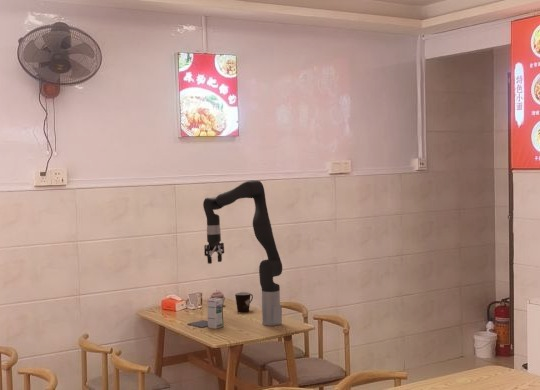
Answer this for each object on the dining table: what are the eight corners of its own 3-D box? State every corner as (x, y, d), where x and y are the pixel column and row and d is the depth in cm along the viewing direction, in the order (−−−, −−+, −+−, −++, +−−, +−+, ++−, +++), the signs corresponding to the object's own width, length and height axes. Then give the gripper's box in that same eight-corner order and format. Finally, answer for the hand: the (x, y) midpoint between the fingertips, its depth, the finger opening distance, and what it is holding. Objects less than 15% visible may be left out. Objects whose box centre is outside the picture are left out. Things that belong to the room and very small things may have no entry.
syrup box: (216, 329, 350) (215, 300, 349) (207, 327, 354) (206, 299, 353) (223, 326, 355) (223, 298, 354) (215, 325, 358) (214, 297, 358)
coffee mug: (238, 313, 386) (238, 295, 386) (233, 310, 394) (232, 293, 394) (258, 311, 391) (257, 293, 390) (252, 308, 399) (252, 291, 398)
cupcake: (211, 304, 414) (210, 287, 414) (226, 304, 413) (226, 287, 413) (208, 307, 405) (207, 290, 405) (224, 307, 404) (223, 290, 404)
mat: (218, 324, 361) (218, 323, 361) (202, 327, 353) (202, 326, 353) (203, 320, 369) (203, 320, 369) (187, 324, 361) (187, 323, 361)
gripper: (210, 234, 378) (211, 264, 378) (227, 232, 389) (228, 261, 390) (200, 234, 382) (201, 263, 383) (216, 232, 394) (217, 260, 394)
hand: (214, 262), depth 386 cm, fingers open, 8 cm apart
